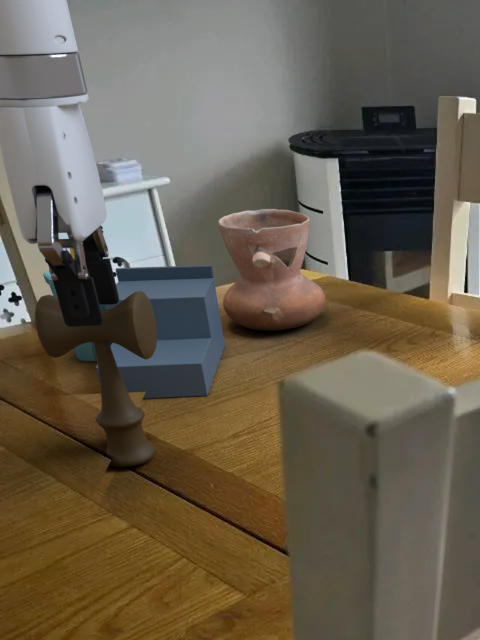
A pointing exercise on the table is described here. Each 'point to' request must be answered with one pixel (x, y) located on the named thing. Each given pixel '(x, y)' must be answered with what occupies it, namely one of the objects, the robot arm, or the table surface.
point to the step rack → (173, 331)
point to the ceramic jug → (270, 270)
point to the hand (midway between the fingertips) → (93, 312)
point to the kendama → (108, 366)
